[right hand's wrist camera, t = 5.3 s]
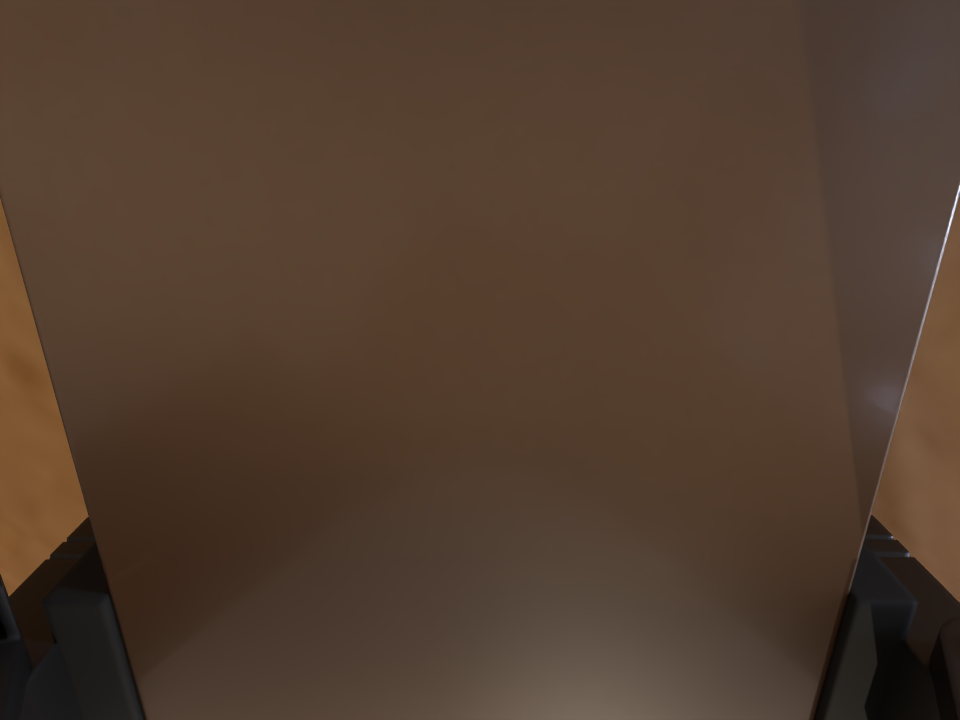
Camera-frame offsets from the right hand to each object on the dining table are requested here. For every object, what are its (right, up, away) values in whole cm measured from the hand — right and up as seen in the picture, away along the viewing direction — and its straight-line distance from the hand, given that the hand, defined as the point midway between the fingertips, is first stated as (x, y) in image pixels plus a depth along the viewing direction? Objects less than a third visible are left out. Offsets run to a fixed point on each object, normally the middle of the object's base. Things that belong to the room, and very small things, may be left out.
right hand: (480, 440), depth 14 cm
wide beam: (0, +26, -10) cm, 28 cm away
